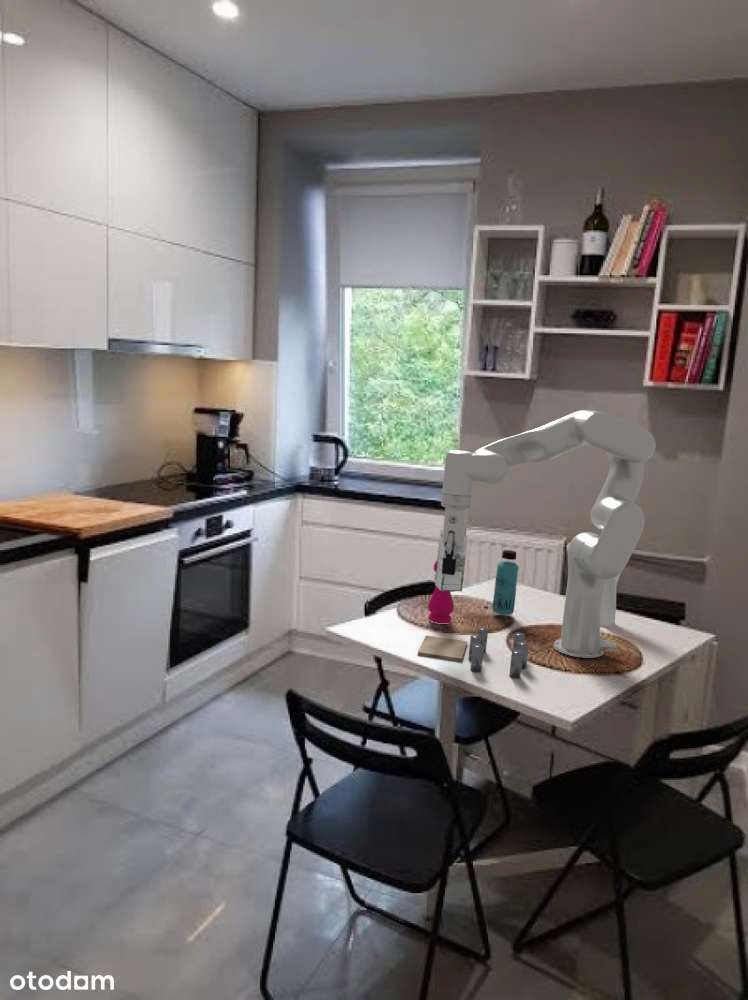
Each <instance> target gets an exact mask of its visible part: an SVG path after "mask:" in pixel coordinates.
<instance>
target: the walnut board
mask: <svg viewBox="0 0 748 1000" xmlns="http://www.w3.org/2000/svg"><path fill="white" fill-rule="evenodd" d="M467 646H468V641H467V640H462V639H461V640H459V639H453V638H448V637H441V636H431V635H425V636H424V639H423V641H422V642H421V644H420V647H419V648H418V650H417V656H420V657H421V656H423V657H429V658H435V659H440V660H448V661H454V662H462V661H463V659H464V655H465V652H466V648H467Z"/></svg>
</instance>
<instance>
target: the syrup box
mask: <svg viewBox="0 0 748 1000" xmlns="http://www.w3.org/2000/svg"><path fill="white" fill-rule="evenodd" d="M454 535H455V534H454ZM468 540H469V537H468V535H467V533H466V534H465V535H464V542H463V548H461V549H459V547H457V549H456V556H455V559H456V567H455V574H454V575H448V574H442V564H443V557H444V551H445V547H444V546H443V530H440V531H439V539H438V549H437V560H436V561H437V568H436V572H435V574H436V578H435V577H434V585H435V586H437V587H438V588H439V589H440V591H450V592H463V585H464V575H465V568H466V567H465V566H466V559H467V548H468ZM447 541H448V539H447ZM447 541H446V542H447ZM446 542H445V544H446ZM452 546H455V545H454V544H452ZM453 551H454V550H453Z"/></svg>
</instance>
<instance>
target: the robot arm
mask: <svg viewBox="0 0 748 1000" xmlns="http://www.w3.org/2000/svg"><path fill="white" fill-rule="evenodd" d="M584 446H591V447H594V448H597V449H599V450H601V451H603V452H605V453H606V455H607V458H608V461H609V462H608V463H609V470H608V475H607V478H606V480H605V482H604V484H603V486H602V488H601V491H600V492H599V495H598V496H597V498H596V500H595V503H594V504H593V506H592V509H591V511H590V521H591V523H592V525H593V526H594V527H596V528H597V529H599V530H600V531H601V533H600V535H599V534H597V533H595V532H590V531H588V532H587V531H584V532H580V533H579V534H577V535H575V536H574V537H573V538H572V540H570V542H569V545H568V550H567V569H568V571H567V585H566V593H565V600H564V608H563V617H562V626H561V634H560V638H559V639H556V640H554V642H553V648H554V650H556V651H557V650H558V651H559V652H558V651H557V652H558V653H560V652H561V653H560V654H562V653H564V654H567V655H570V656H575V657H582V658H595V657H599V656H601V655H602V656H603V654H604V650H608V651H614V652H617V649H618V648H617V646H618V644H617V643H616V642H615V643H614V642H612V641H611V640H607V639H602V638H601V635H600V630H601V625H600V624H601V616H602V608H603V600H604V594H605V579H612V578H614V577H616V576H617V575H619V574H620V573H622V571H623V570H624V569H625V568H626V565H627V564H628V562H629V560H630V558H631V556H632V555H633V553H634V551H635V548H636V547H637V544H638V542H639V540H640V538H641V537H642V534H643V531H644V527H645V521H646V520H645V514H644V512H643V510H642V509H641V507H640V506H639V505H638V504H636V503H635V501H636V499H637V497H638V495H639V492H640V489H641V487H642V484H643V482H644V472H645V471H644V462H646V461H648V460H649V459H651V458H652V456H653V455H654V453H655V451H656V446H657V444H656V440H655V437H654V435H653V434H652V433H651V432H650V431H649V430H647V429H645V428H643V427H641V426H638V425H636V424H633V423H630V422H627V421H626V420H623V419H621V418H618V417H615V416H613V415H610V414H608V413H606V412H604V411H603V412H602V411H598V410H592V409H591V410H590V409H581V410H578V411H575V412H572V413H570V414H568V415H565V416H563V417H561V418H558V419H556V420H554V421H553V420H552V421H551V422H548V423H547V424H545V425H541V426H540V427H537V428H534V429H531V430H528V431H525V432H521V433H519V434H516V435H512V436H509V437H505V438H503V439H499V440H497V441H495V442H492V443H490V444H488V445H485V446H483V447H481V448H479V449H477V450H475V451H474V452H471V451H467V450H460V449H458V450H457V449H455V450H454V449H453V450H452V449H451V450H449V451H448V452H447V453H446V454H445V458H444V459H445V461H444V470H443V479H442V480H443V482H442V489H441V490H442V491H441V493H442V494H441V502H440V506H442V508H445V510H444V519H443V546H444V547H445V551H444V557H443V564H442V574H448V575H454V574H455V567H456V559H455V556H456V549H457V547H459V549H461V548H463V542H464V535H465V534H466V535H467V528H468V527H467V525H468V510H470V509H472V506H473V496H474V486H475V485H474V484H475V482H479V483H480V482H481V483H485V484H490V485H495V484H500V483H502V482H504V481H505V480H506V479H507V478H508V476H509V474H510V470H511V468H510V467H514V466H515V465H516V466H517V465H521V464H527V463H542V462H547V461H550V460H553V459H555V458H558V457H559V456H562V455H564V454H567V453H570V452H572V451H573V450H576V449H579V448H580V447H584ZM454 534H455V535H454ZM447 539H448V541H447ZM446 541H447V542H446ZM445 542H446V544H445ZM452 544H454V545H455V546H452ZM453 550H454V551H453ZM620 575H621V574H620ZM564 654H563V655H564ZM567 655H566V656H567ZM570 656H569V657H570ZM602 656H601V657H602ZM599 658H600V657H599Z"/></svg>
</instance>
